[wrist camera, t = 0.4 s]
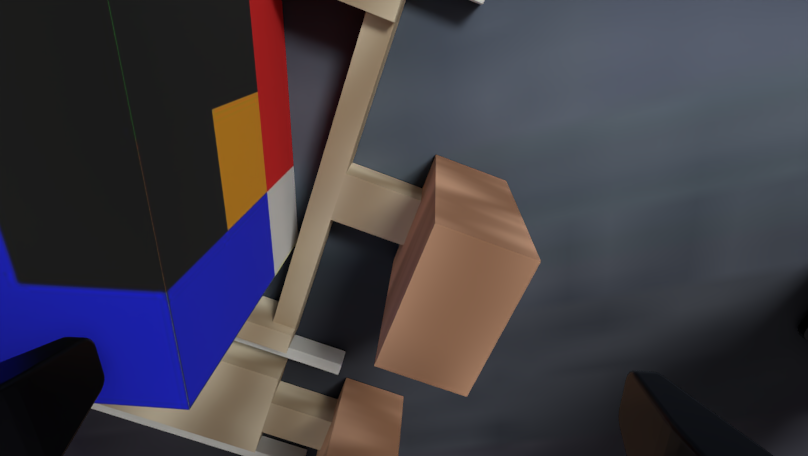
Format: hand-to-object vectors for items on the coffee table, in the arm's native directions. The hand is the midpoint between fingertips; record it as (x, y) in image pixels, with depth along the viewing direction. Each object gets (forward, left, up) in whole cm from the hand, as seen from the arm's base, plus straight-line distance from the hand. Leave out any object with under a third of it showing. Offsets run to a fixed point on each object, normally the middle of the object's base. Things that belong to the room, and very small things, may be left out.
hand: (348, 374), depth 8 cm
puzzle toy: (+9, +1, -13) cm, 16 cm away
